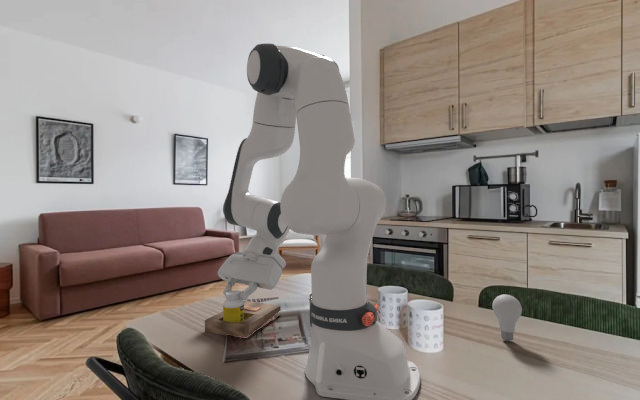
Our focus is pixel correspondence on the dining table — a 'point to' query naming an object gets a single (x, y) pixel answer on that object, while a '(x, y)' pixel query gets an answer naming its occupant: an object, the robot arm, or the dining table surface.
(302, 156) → the robot arm
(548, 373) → the dining table surface
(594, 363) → the dining table surface
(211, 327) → the block
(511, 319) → the lightbulb
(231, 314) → the supplement bottle
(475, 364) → the dining table surface
